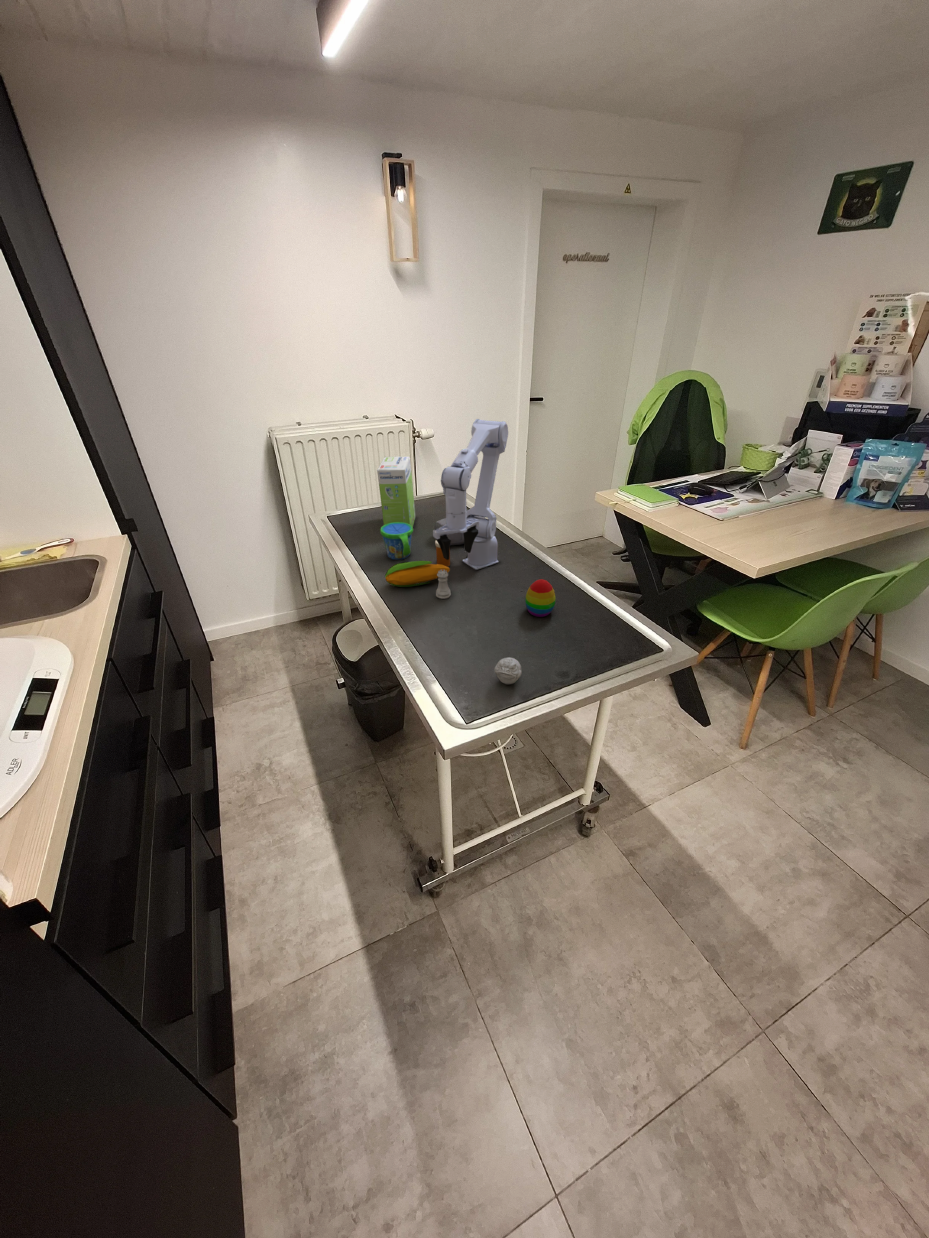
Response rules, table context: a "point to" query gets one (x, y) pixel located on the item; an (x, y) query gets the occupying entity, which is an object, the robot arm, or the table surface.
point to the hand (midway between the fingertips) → (457, 554)
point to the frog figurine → (508, 670)
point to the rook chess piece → (443, 585)
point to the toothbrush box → (396, 490)
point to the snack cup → (397, 539)
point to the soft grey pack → (455, 537)
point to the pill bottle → (441, 556)
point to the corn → (413, 573)
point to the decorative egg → (540, 598)
